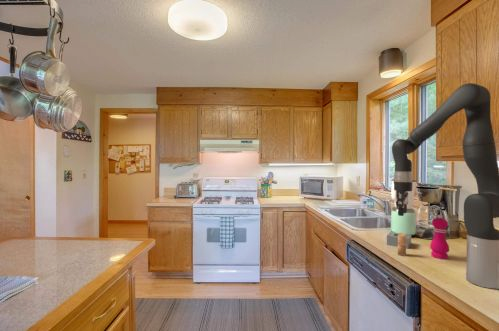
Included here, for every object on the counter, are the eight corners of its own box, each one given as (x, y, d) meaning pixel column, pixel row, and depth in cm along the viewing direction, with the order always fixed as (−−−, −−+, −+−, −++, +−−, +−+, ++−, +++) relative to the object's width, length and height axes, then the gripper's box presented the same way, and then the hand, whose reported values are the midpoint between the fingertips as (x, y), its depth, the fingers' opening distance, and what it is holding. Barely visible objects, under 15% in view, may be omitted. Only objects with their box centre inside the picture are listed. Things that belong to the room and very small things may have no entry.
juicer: (399, 230, 165) (400, 177, 164) (421, 235, 153) (422, 179, 152) (382, 234, 155) (382, 178, 155) (404, 240, 144) (405, 179, 143)
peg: (406, 254, 121) (406, 234, 121) (405, 256, 118) (405, 235, 118) (398, 252, 123) (398, 232, 123) (397, 254, 120) (397, 234, 120)
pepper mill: (434, 258, 116) (435, 215, 116) (427, 253, 123) (427, 212, 123) (452, 260, 114) (453, 216, 114) (444, 254, 121) (444, 213, 121)
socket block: (411, 244, 137) (411, 235, 137) (408, 248, 129) (408, 239, 129) (390, 240, 143) (390, 231, 143) (386, 244, 136) (386, 235, 136)
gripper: (409, 182, 112) (409, 217, 113) (414, 180, 123) (413, 213, 123) (391, 181, 117) (390, 215, 117) (397, 179, 128) (396, 211, 128)
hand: (402, 214), depth 120 cm, fingers open, 8 cm apart
